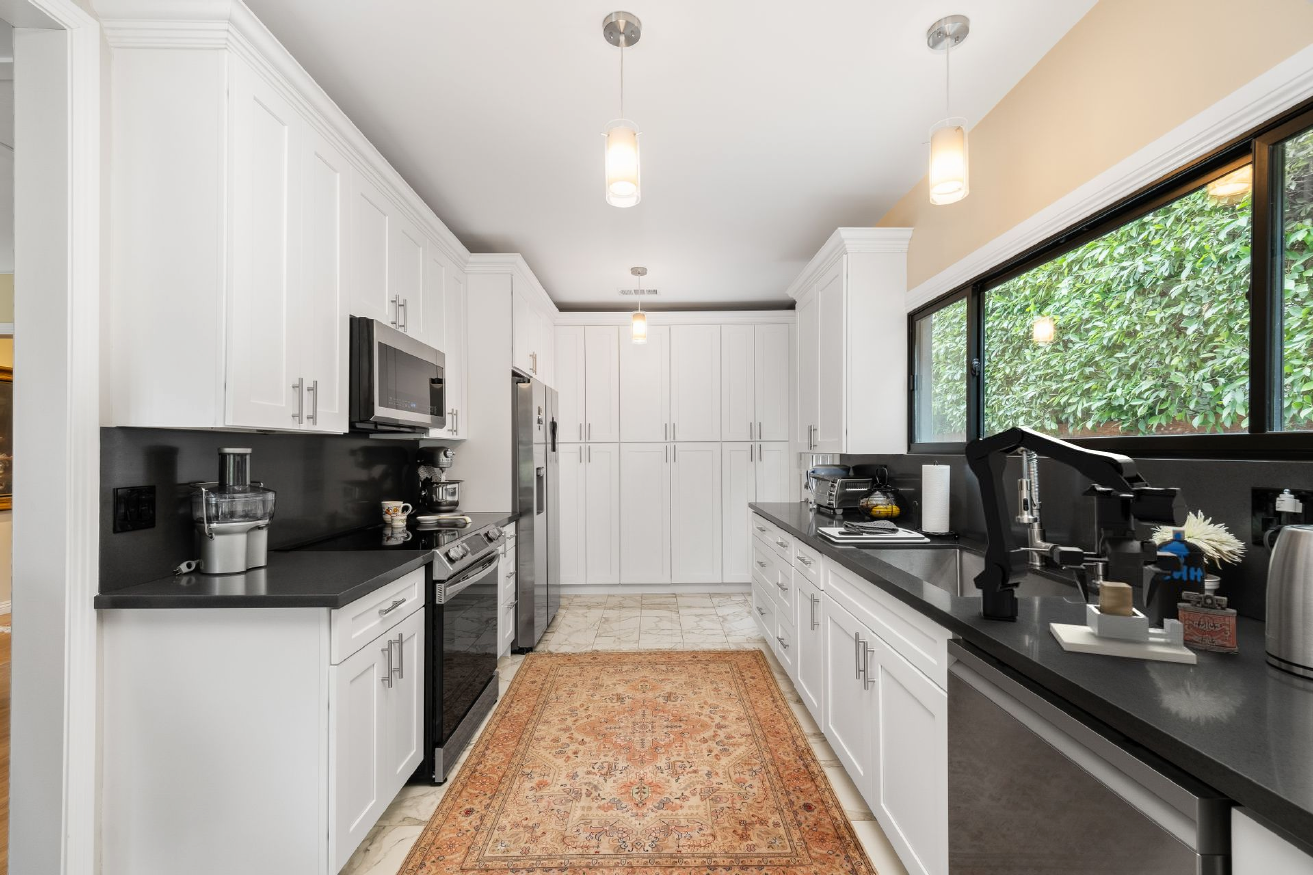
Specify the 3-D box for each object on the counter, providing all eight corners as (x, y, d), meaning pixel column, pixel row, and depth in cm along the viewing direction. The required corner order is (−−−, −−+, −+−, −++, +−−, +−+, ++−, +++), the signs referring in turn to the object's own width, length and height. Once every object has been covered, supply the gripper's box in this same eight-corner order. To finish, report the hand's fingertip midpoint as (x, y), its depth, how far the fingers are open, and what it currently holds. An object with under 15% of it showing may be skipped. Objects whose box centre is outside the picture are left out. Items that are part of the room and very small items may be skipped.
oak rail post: (1106, 628, 111) (1105, 585, 111) (1100, 623, 115) (1099, 581, 115) (1133, 631, 110) (1131, 587, 110) (1125, 625, 113) (1124, 583, 113)
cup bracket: (1097, 641, 110) (1097, 614, 110) (1087, 629, 117) (1086, 604, 117) (1188, 650, 105) (1188, 621, 105) (1171, 637, 112) (1171, 610, 112)
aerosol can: (1157, 618, 130) (1155, 526, 130) (1209, 625, 124) (1206, 529, 125) (1153, 626, 124) (1150, 529, 125) (1206, 634, 118) (1203, 533, 119)
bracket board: (1064, 650, 110) (1064, 642, 110) (1050, 630, 122) (1050, 622, 122) (1196, 664, 102) (1196, 655, 102) (1167, 641, 114) (1166, 633, 114)
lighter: (1237, 650, 109) (1235, 595, 110) (1237, 654, 107) (1236, 598, 107) (1178, 640, 115) (1177, 588, 115) (1178, 645, 112) (1176, 591, 113)
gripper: (1065, 524, 109) (1067, 610, 109) (1195, 529, 102) (1198, 621, 101) (1052, 518, 119) (1053, 596, 119) (1169, 521, 112) (1172, 605, 111)
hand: (1116, 604), depth 112 cm, fingers open, 9 cm apart
